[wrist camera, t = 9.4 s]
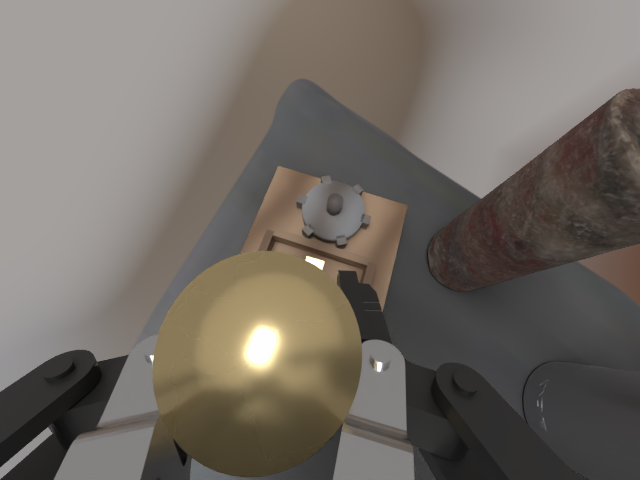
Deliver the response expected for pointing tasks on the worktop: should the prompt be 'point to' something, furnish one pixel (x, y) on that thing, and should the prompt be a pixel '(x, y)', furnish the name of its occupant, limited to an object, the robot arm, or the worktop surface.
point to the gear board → (359, 244)
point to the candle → (552, 205)
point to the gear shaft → (257, 363)
